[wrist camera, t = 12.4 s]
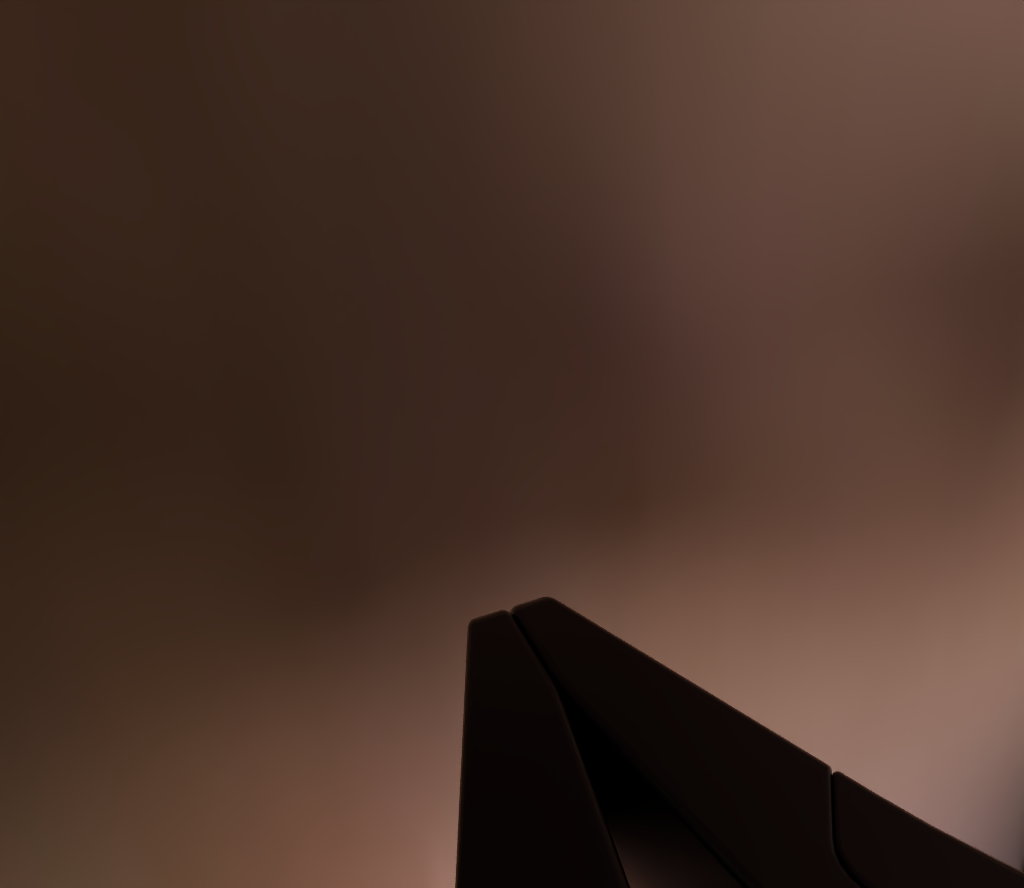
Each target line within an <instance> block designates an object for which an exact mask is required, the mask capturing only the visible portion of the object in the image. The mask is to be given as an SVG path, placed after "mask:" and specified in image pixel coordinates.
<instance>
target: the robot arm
mask: <svg viewBox="0 0 1024 888" xmlns="http://www.w3.org/2000/svg"><path fill="white" fill-rule="evenodd" d="M455 888H1024V872H1022V871H1020V870H1018V869H1016V868H1014V867H1012V866H1010V865H1008V864H1006V863H1004V862H1002V861H1000V860H997V859H995V858H994V857H992V856H990V855H988V854H986V853H984V852H982V851H980V850H978V849H976V848H974V847H972V846H970V845H968V844H966V843H964V842H962V841H961V840H959V839H957V838H955V837H953V836H951V835H949V834H947V833H945V832H943V831H941V830H939V829H937V828H935V827H933V826H931V825H930V824H928V823H926V822H924V821H923V820H921V819H919V818H917V817H916V816H914V815H912V814H910V813H909V812H907V811H905V810H904V809H902V808H900V807H898V806H897V805H895V804H893V803H891V802H890V801H888V800H886V799H884V798H883V797H881V796H879V795H877V794H876V793H874V792H872V791H871V790H869V789H867V788H866V787H864V786H862V785H861V784H859V783H857V782H856V781H854V780H853V779H851V778H849V777H848V776H846V775H844V774H843V773H841V772H839V771H836V772H834V773H833V774H832V769H831V767H830V766H829V765H827V764H826V763H824V762H822V761H821V760H819V759H817V758H816V757H814V756H812V755H811V754H809V753H807V752H806V751H804V750H803V749H801V748H799V747H798V746H796V745H794V744H793V743H791V742H789V741H788V740H786V739H784V738H783V737H781V736H779V735H778V734H776V733H775V732H773V731H771V730H770V729H768V728H766V727H765V726H763V725H761V724H760V723H758V722H756V721H755V720H753V719H751V718H750V717H748V716H747V715H745V714H743V713H742V712H740V711H738V710H737V709H735V708H733V707H732V706H730V705H728V704H727V703H725V702H724V701H722V700H720V699H719V698H717V697H715V696H714V695H712V694H710V693H709V692H707V691H705V690H704V689H702V688H700V687H699V686H697V685H696V684H694V683H692V682H691V681H689V680H687V679H686V678H684V677H682V676H681V675H679V674H677V673H676V672H674V671H673V670H671V669H669V668H668V667H666V666H664V665H663V664H661V663H659V662H658V661H656V660H654V659H653V658H651V657H649V656H648V655H646V654H645V653H643V652H641V651H640V650H638V649H636V648H635V647H633V646H631V645H630V644H628V643H626V642H625V641H623V640H622V639H620V638H618V637H617V636H615V635H613V634H612V633H610V632H608V631H607V630H605V629H603V628H602V627H600V626H598V625H597V624H595V623H594V622H592V621H590V620H589V619H587V618H585V617H584V616H582V615H580V614H579V613H577V612H575V611H574V610H572V609H571V608H569V607H567V606H566V605H564V604H562V603H561V602H559V601H557V600H556V599H554V598H551V597H542V598H539V599H536V600H532V601H529V602H526V603H523V604H520V605H516V606H515V607H513V609H512V610H511V613H509V612H508V611H505V610H501V611H497V612H494V613H491V614H488V615H485V616H481V617H478V618H475V619H473V620H471V621H470V622H469V625H468V633H467V654H466V675H465V696H464V717H463V737H462V758H461V779H460V800H459V821H458V842H457V863H456V883H455Z"/></svg>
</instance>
